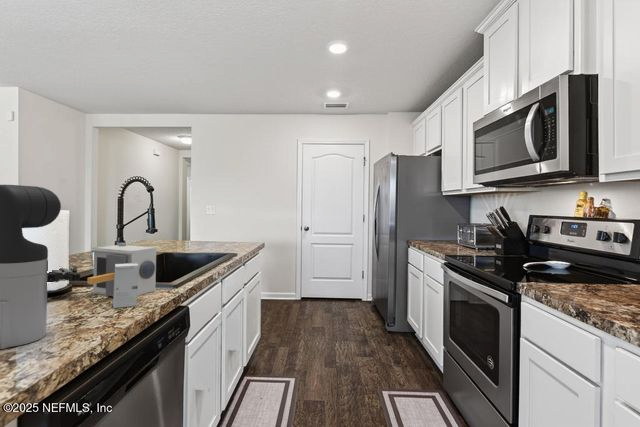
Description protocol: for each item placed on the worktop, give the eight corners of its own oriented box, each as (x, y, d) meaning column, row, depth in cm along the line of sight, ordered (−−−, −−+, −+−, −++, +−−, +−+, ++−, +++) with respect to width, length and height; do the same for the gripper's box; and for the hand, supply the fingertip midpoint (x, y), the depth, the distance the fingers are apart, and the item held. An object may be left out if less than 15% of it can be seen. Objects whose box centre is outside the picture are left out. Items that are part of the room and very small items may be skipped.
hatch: (98, 304, 93) (99, 259, 93) (80, 301, 96) (81, 258, 95) (125, 296, 102) (126, 255, 102) (108, 294, 104) (109, 254, 104)
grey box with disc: (130, 298, 102) (131, 248, 102) (91, 293, 107) (92, 244, 107) (157, 290, 112) (158, 244, 112) (119, 286, 117) (120, 242, 117)
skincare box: (113, 308, 92) (114, 266, 92) (112, 304, 95) (113, 263, 95) (137, 305, 95) (138, 264, 95) (136, 301, 99) (137, 262, 99)
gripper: (59, 278, 111) (97, 284, 105) (13, 288, 98) (53, 295, 93) (60, 257, 110) (98, 261, 105) (13, 263, 98) (54, 269, 93)
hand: (77, 277), depth 99 cm, fingers closed
